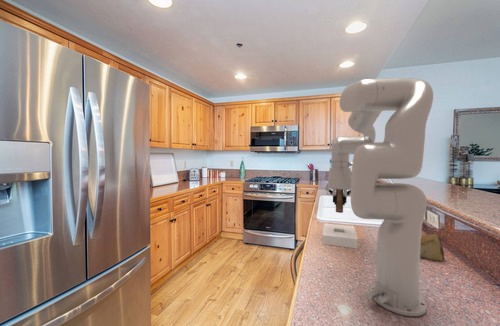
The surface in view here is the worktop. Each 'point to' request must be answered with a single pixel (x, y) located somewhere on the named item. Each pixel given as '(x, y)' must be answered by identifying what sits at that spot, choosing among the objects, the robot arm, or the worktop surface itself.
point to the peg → (339, 201)
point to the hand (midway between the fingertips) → (339, 204)
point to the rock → (431, 247)
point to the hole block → (340, 235)
